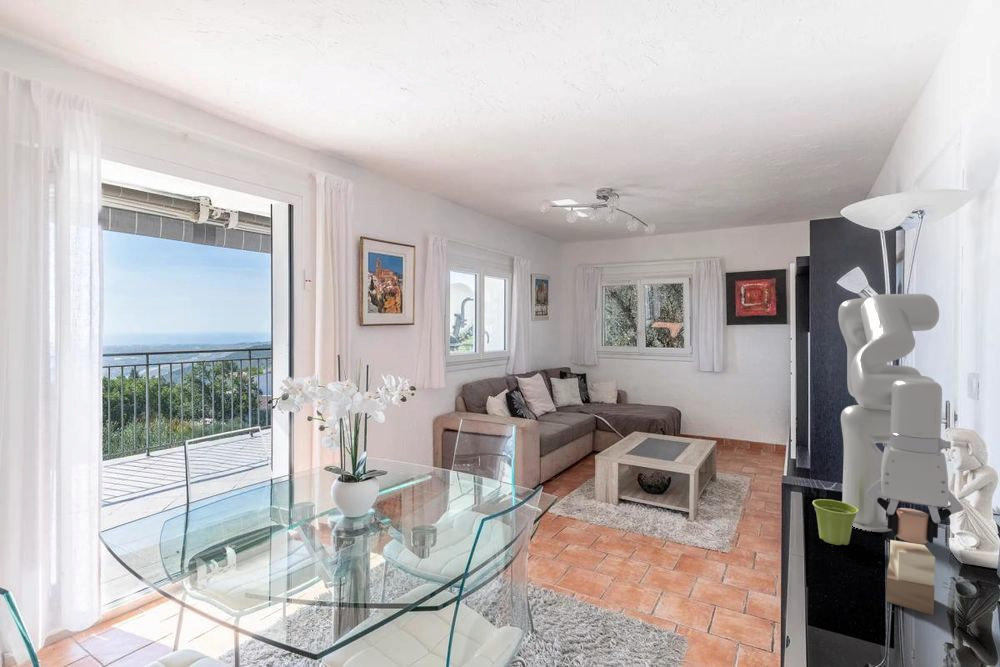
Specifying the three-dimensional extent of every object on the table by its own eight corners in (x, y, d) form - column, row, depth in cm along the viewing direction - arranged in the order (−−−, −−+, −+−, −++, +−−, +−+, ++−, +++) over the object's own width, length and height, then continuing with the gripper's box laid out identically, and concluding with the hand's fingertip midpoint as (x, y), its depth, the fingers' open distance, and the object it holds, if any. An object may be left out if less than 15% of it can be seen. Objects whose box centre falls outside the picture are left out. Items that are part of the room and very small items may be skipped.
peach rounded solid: (895, 530, 102) (896, 506, 102) (926, 536, 99) (927, 511, 99) (896, 539, 98) (897, 513, 98) (929, 545, 95) (929, 519, 95)
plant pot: (814, 529, 132) (815, 496, 132) (858, 539, 126) (859, 504, 126) (808, 541, 125) (809, 506, 124) (855, 553, 119) (856, 516, 118)
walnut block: (887, 587, 104) (888, 563, 104) (932, 599, 100) (933, 574, 99) (886, 602, 99) (887, 577, 98) (933, 616, 94) (934, 589, 94)
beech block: (889, 566, 103) (890, 539, 102) (923, 572, 100) (924, 544, 100) (898, 579, 98) (899, 551, 97) (934, 585, 95) (935, 557, 95)
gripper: (970, 446, 96) (967, 541, 97) (860, 434, 106) (858, 520, 106) (978, 455, 90) (974, 556, 90) (860, 441, 100) (858, 532, 100)
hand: (911, 535), depth 98 cm, fingers closed on peach rounded solid, 4 cm apart
